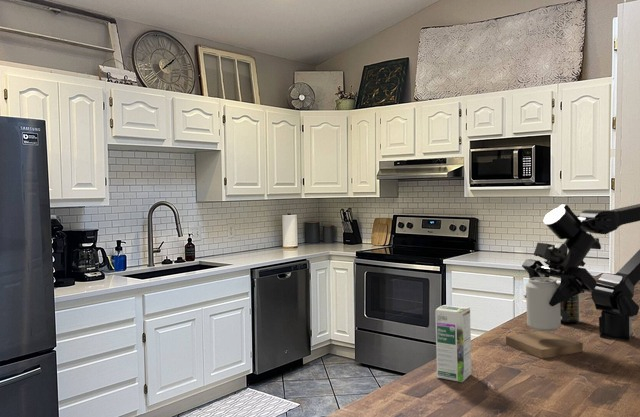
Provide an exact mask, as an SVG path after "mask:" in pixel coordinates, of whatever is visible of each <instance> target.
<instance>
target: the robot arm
mask: <svg viewBox="0 0 640 417" xmlns="http://www.w3.org/2000/svg"><path fill="white" fill-rule="evenodd" d="M637 222H640V203H637V204H633V205H628V206H624V207H619V208H614V209H585V210H582V211H581V212H580V213H579V215H577V214H575V213H574V212H573V211H572V210H571V208H570V206H569V205H568V204H564V203H563V204H560V205H559V206H558V207H556V208H554V209H552V210H550V211H549V212H547V213H546V214H545V216H544V218H543V224H545V226H546V227H547V228H548V229H549V230H550V231H551V233H553V234H554V235H555V236H556V237H557V238H558V239H559V240H565V241H564V243H560V242H556V243H555V244H550V243H546V242H536V246H535V248H534V253H533V255H534V257H539V258H542V259H544V260H543V263H545V265H547V267H546V266H545V265H544V264H543V263H542V262H541V260H538V259H537V260H536V259H531V258H530V259H529V258H528V259H525V260H524V262H523V263H522V264H521V267H522V268H523V269H524V270H525V271H526V272H527V274H528V276H529V278H528V280H529V279H530V278H534V277H548V278H555V279H556V278H557V279H560V282H559V283H560V285H559V287H558V288H557V290H556V292H555V293H554V295H553V297H552V298H551V300H550V302H549V304H550V305H551V306H555V305H557V304H559V303H560V302H562V301H564V300H566V299H568V298H570V297H573V296H575V295H577V294H579V295H580V294H584V293H585V292H588V293H589V292H590V296H591V300H592V301H593V303H594V306H595V310H597V311H601V312H600V313H601V314H600V316H599V317H598V333H599V337H600V338H604V339H611V340H620V341H626V342H629V341H631V339H632V337H633V336H634V333H633V332H632V329H633V328H632V327H633V325H632V320H633V318H632V317H634V316H638V314H639V310H640V306H639V305H638V304H637V303H636V302H635V301H634V299H633V298H634V294H635V287H636V285H637V284H638V283H639V282H640V249H638V250H637V252H636V253H635V254H634V255H632V257H630V259H629V260H628V261H627V262H626V263H625V264H624V265H623V266H621V268H620V269H619V270H618V271H617V272H616V273H614V274H613V273H608V272H604V273H603V274H601V275H600V277H599V278H598V279H597V280H596V278H594V276H593V275H592V274H591V273H590V272H589V271H588V270H587V268H585V265H586V264H587V263H586V262H585V261H584V259H585V258H586V257H587V255H588V254H589V253H590V251H591V250H601V249H602V246H601V245H602V244H601V242H600V238H598V237H594V236H593V234H595V235H598V234H599V235H607V234H609V233H612V232H614V231H616V230H618V228H619V227H621V226H623V225H627V224H632V223H637ZM524 296H525V297H524V298H525V299H526V295H524Z"/></svg>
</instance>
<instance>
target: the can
mask: <svg viewBox="0 0 640 417" xmlns="http://www.w3.org/2000/svg"><path fill="white" fill-rule="evenodd" d="M558 287H559V285H558V284H557V279H556V278H555V277H549V278H548V277H534V278H530V279H529V278H528V282H527V283H526V285H525V296H526V298H525V299H526V325H527V326H528V327H529V328H530V329H531V330H534V331H535V332H536V331H542V332H551V333H552V332H555V331H557V330H558V329H559V328H560V327H562V324H561V315H560V303H559V304H557V305H555V306H551V305H550V304H549V302H550V300H551V298H552V297H553V295H554V293H555V292H556V290H557V288H558Z"/></svg>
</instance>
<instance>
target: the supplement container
mask: <svg viewBox="0 0 640 417" xmlns="http://www.w3.org/2000/svg"><path fill="white" fill-rule="evenodd" d="M556 283H557V282H556ZM560 283H561V282H559V283H557V284H558V285H560ZM580 307H581V306H580V294H577V295H575V296H573V297H570V298H568V299H566V300H564V301H562V302H560V315H561V325H567V326H568V325H577V324H579V323H580V320H581V317H580V316H581V314H580V310H581V309H580Z"/></svg>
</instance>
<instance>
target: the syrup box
mask: <svg viewBox="0 0 640 417" xmlns="http://www.w3.org/2000/svg"><path fill="white" fill-rule="evenodd" d="M434 311H435V314H434V315H435V316H434V320H435V345H436V346H435V347H436V349H435V351H436V352H435V353H436V378H437V379H444V380H447V381H453V382H459V383H463V382H464V381H466V380H467V379H468V377H470V376H471V374H472V346H471V345H472V343H471V342H472V340H471V339H472V338H471V335H472V334H471V306H468V307H467V306H459V305H457V306H456V305H450V304H443V305H441V306H439V307H437V308H436V309H435V310H434Z"/></svg>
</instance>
